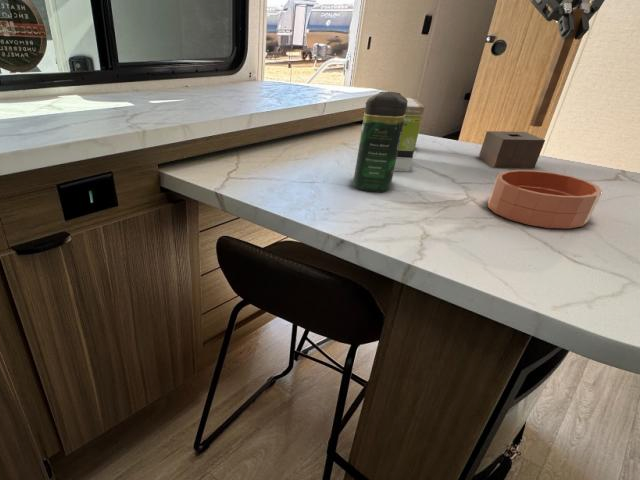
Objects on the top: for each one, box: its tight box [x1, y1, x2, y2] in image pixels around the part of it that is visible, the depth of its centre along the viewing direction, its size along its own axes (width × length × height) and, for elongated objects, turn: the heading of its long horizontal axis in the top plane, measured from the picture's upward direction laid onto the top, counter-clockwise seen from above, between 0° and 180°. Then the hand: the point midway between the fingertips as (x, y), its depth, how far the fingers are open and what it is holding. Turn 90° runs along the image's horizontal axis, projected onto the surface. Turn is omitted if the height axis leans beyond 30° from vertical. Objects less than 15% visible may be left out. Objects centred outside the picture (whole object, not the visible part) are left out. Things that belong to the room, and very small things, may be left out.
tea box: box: [394, 97, 425, 172], centre depth 101 cm, size 15×10×15 cm
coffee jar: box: [352, 91, 407, 193], centre depth 85 cm, size 10×8×19 cm
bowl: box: [487, 169, 603, 230], centre depth 75 cm, size 16×16×6 cm
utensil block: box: [478, 130, 546, 170], centre depth 103 cm, size 10×10×7 cm
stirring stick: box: [529, 9, 585, 128], centre depth 81 cm, size 2×2×20 cm
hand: (575, 35), depth 76 cm, fingers closed on stirring stick, 1 cm apart
